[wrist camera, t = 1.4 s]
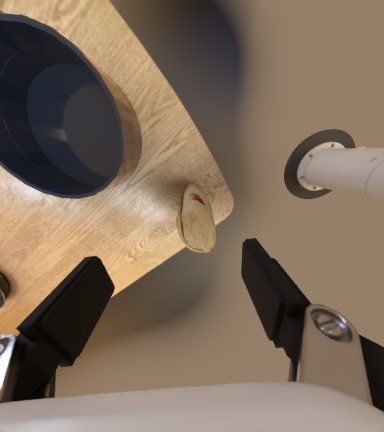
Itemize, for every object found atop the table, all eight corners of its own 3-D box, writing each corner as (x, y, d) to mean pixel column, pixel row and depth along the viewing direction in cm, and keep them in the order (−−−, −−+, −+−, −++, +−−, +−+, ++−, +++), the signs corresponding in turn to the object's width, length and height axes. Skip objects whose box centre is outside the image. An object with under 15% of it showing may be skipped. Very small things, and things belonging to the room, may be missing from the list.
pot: (88, 28, 25) (30, -43, 16) (161, 159, 34) (151, 161, 25) (-1, 104, 29) (-87, 82, 20) (86, 201, 38) (55, 217, 29)
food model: (208, 209, 40) (226, 256, 22) (187, 214, 41) (186, 265, 23) (200, 176, 36) (213, 200, 18) (176, 182, 37) (165, 213, 19)
